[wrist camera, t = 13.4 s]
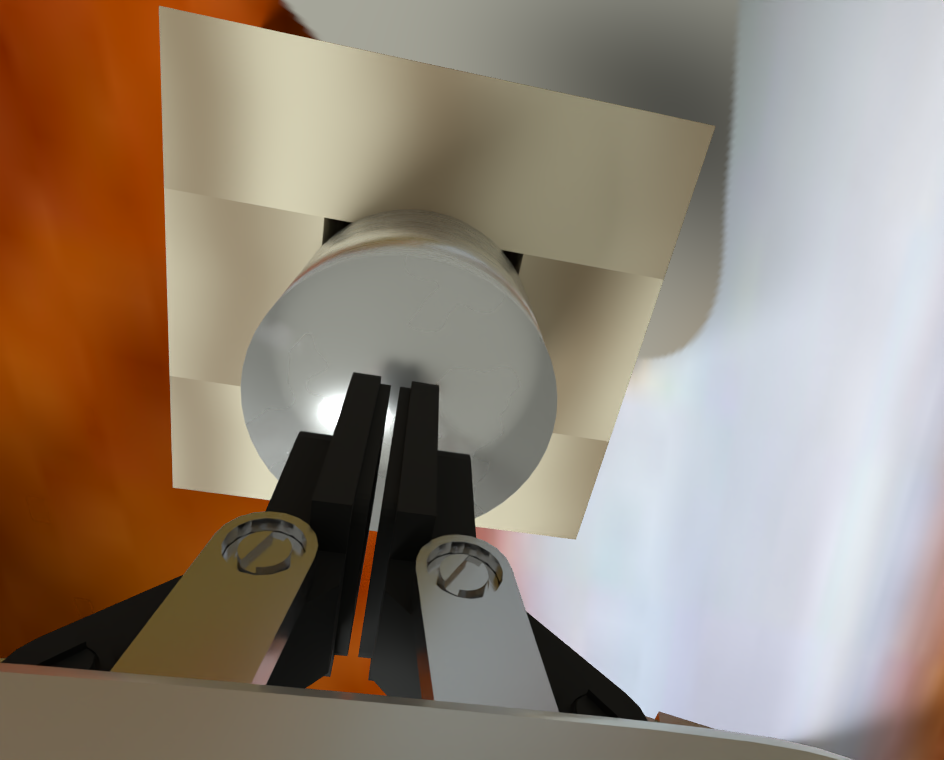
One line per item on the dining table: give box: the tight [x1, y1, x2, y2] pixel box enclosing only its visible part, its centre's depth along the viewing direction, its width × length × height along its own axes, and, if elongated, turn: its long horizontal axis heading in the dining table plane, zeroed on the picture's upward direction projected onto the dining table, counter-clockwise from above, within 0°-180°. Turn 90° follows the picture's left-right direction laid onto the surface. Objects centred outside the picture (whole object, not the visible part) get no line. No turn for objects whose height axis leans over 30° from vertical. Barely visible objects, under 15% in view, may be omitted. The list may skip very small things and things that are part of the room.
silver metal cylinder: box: [241, 209, 557, 531], centre depth 19 cm, size 7×7×12 cm
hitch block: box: [159, 6, 715, 539], centre depth 21 cm, size 14×14×8 cm
